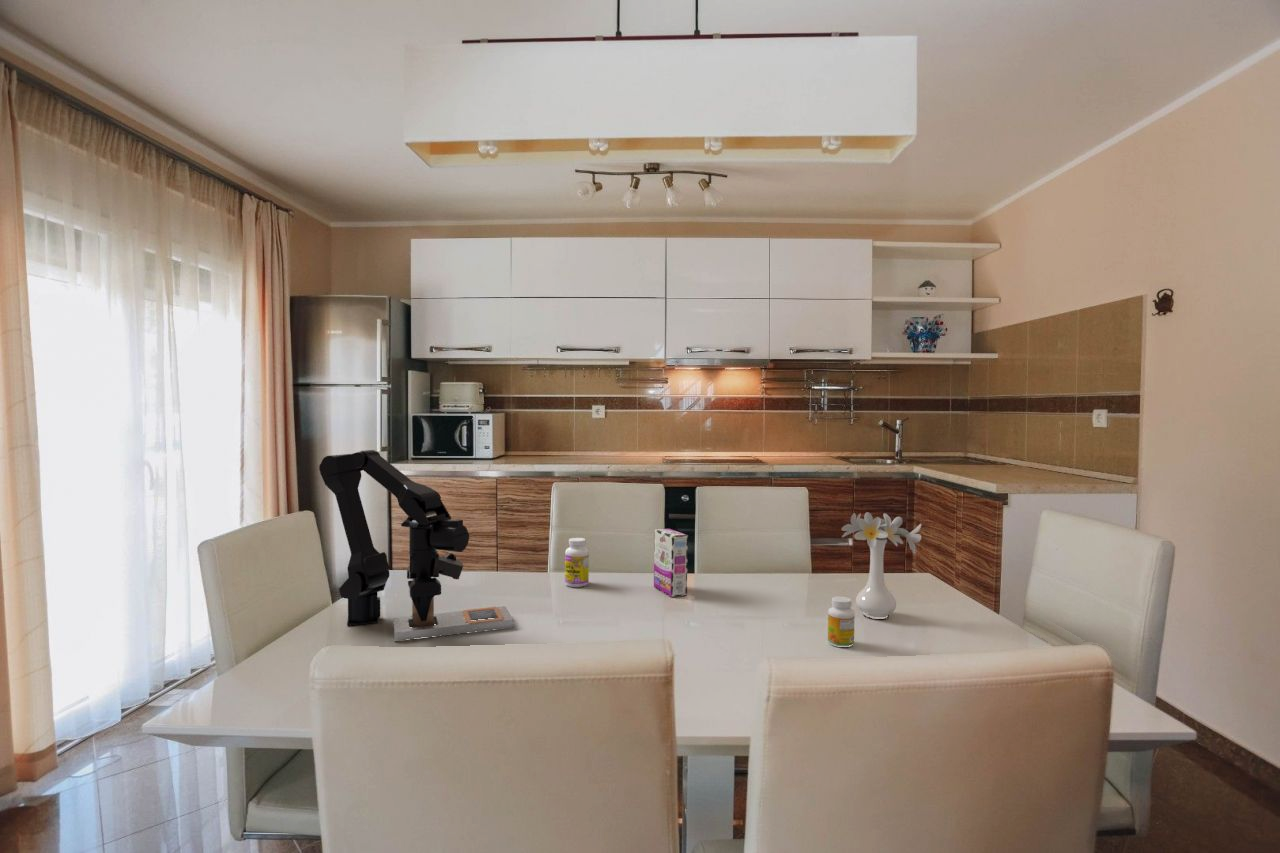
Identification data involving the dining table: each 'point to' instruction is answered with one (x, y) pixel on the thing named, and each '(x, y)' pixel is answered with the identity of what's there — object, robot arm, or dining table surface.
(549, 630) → the dining table surface
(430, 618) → the walnut peg
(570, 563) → the supplement bottle
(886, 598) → the flower vase
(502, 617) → the gray peg socket board
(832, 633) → the supplement bottle
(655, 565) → the candy bar box
